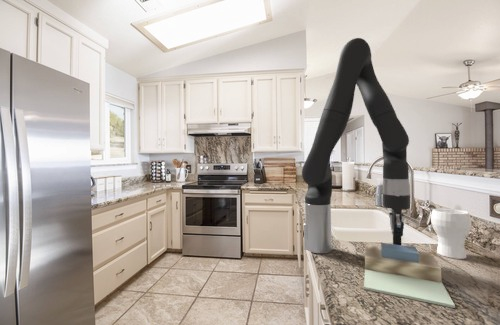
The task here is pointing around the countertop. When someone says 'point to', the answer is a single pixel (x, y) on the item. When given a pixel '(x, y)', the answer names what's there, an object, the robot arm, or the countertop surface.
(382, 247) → the tile
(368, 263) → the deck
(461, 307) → the countertop surface
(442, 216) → the white vase
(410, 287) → the mat
